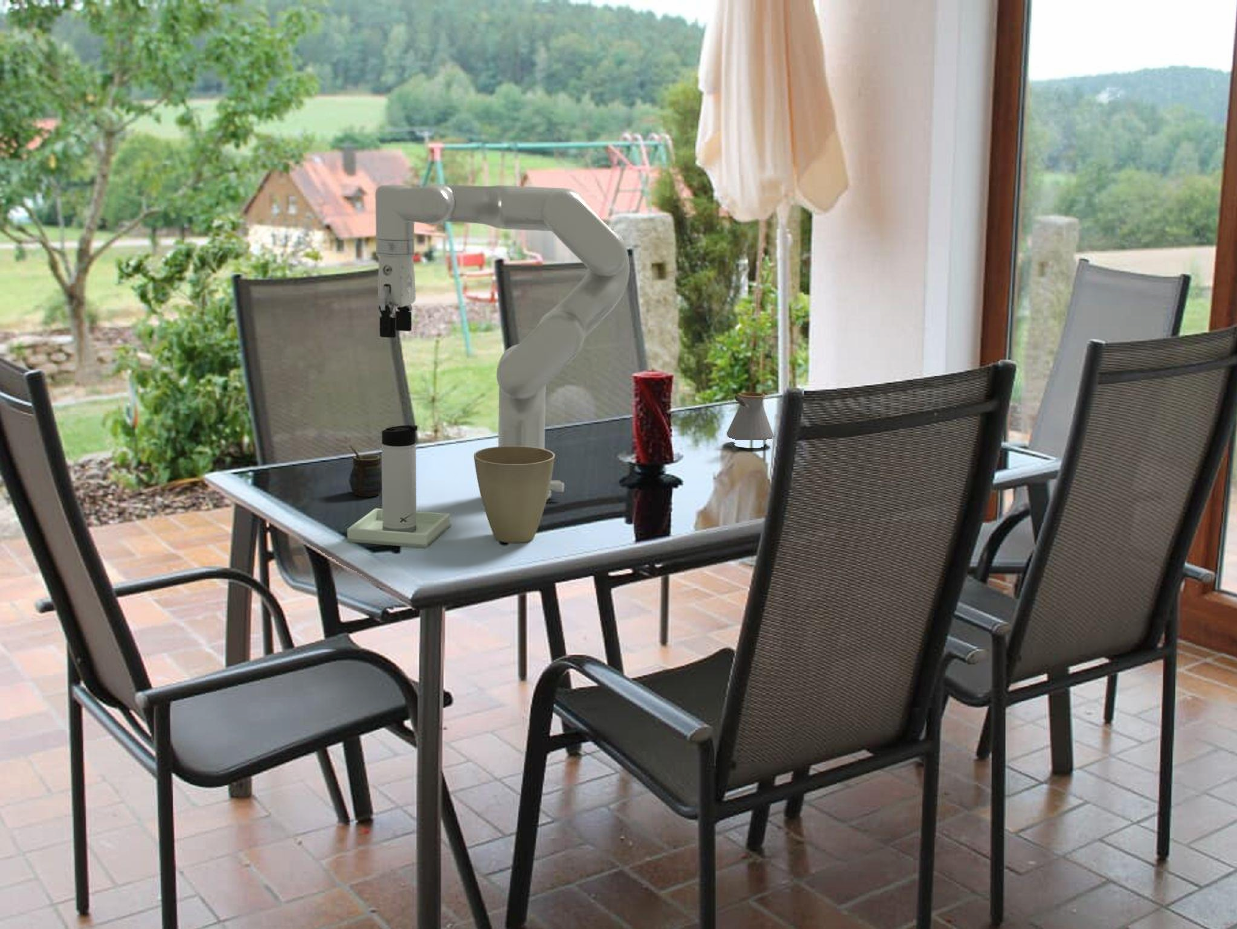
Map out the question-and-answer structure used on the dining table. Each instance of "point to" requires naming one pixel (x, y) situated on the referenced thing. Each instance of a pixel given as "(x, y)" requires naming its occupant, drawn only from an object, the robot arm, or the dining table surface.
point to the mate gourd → (366, 475)
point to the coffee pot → (750, 419)
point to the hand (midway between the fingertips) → (396, 333)
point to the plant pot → (514, 489)
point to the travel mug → (399, 478)
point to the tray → (423, 536)
